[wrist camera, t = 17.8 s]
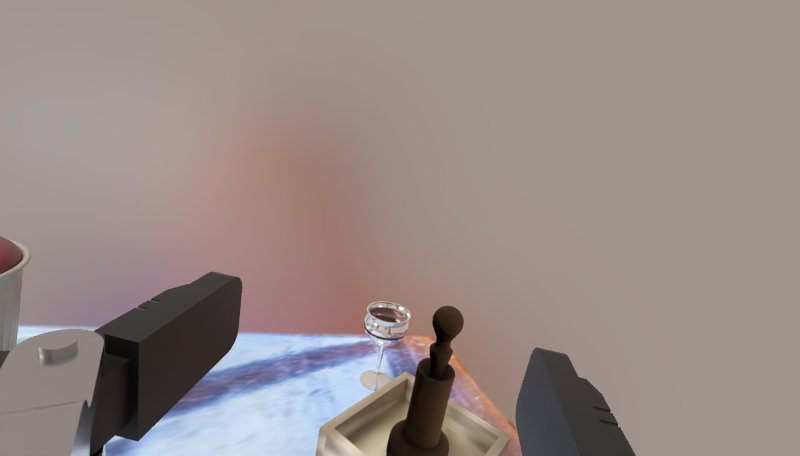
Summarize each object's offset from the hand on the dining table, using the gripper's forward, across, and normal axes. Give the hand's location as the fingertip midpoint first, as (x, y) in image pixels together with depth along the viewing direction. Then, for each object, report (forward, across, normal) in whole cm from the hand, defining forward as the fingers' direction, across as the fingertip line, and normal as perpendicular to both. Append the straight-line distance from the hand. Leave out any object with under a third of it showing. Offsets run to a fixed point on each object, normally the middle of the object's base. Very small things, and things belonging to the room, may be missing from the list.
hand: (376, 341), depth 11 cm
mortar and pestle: (+27, -4, +29) cm, 40 cm away
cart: (+27, -4, +34) cm, 44 cm away
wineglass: (+45, +3, +34) cm, 57 cm away
